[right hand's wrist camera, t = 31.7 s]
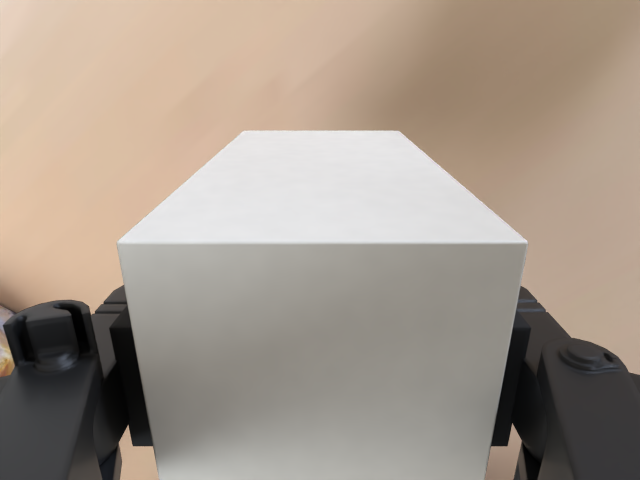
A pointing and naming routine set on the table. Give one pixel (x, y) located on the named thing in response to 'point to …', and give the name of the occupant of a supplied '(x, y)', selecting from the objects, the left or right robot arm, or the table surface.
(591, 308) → the table surface
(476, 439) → the brick
